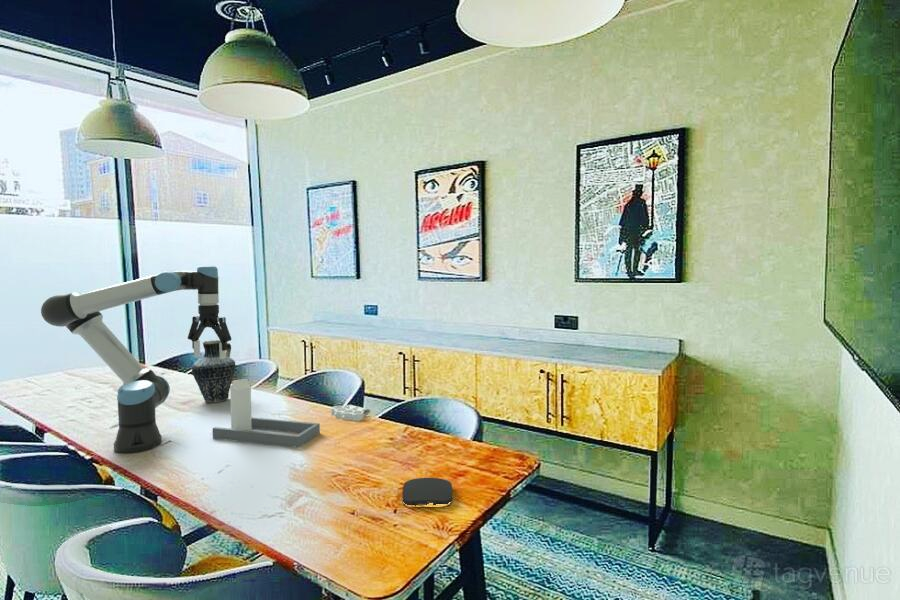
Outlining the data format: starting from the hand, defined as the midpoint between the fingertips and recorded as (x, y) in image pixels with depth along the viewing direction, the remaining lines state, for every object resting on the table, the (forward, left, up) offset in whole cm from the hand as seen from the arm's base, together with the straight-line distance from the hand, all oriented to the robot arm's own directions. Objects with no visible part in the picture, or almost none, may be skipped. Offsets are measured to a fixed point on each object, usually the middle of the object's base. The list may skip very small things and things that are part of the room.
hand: (209, 357), depth 200 cm
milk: (0, -14, -30) cm, 33 cm away
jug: (+38, +29, -30) cm, 56 cm away
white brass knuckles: (+33, -46, -31) cm, 64 cm away
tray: (0, -25, -30) cm, 39 cm away
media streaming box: (-33, -102, -31) cm, 112 cm away
